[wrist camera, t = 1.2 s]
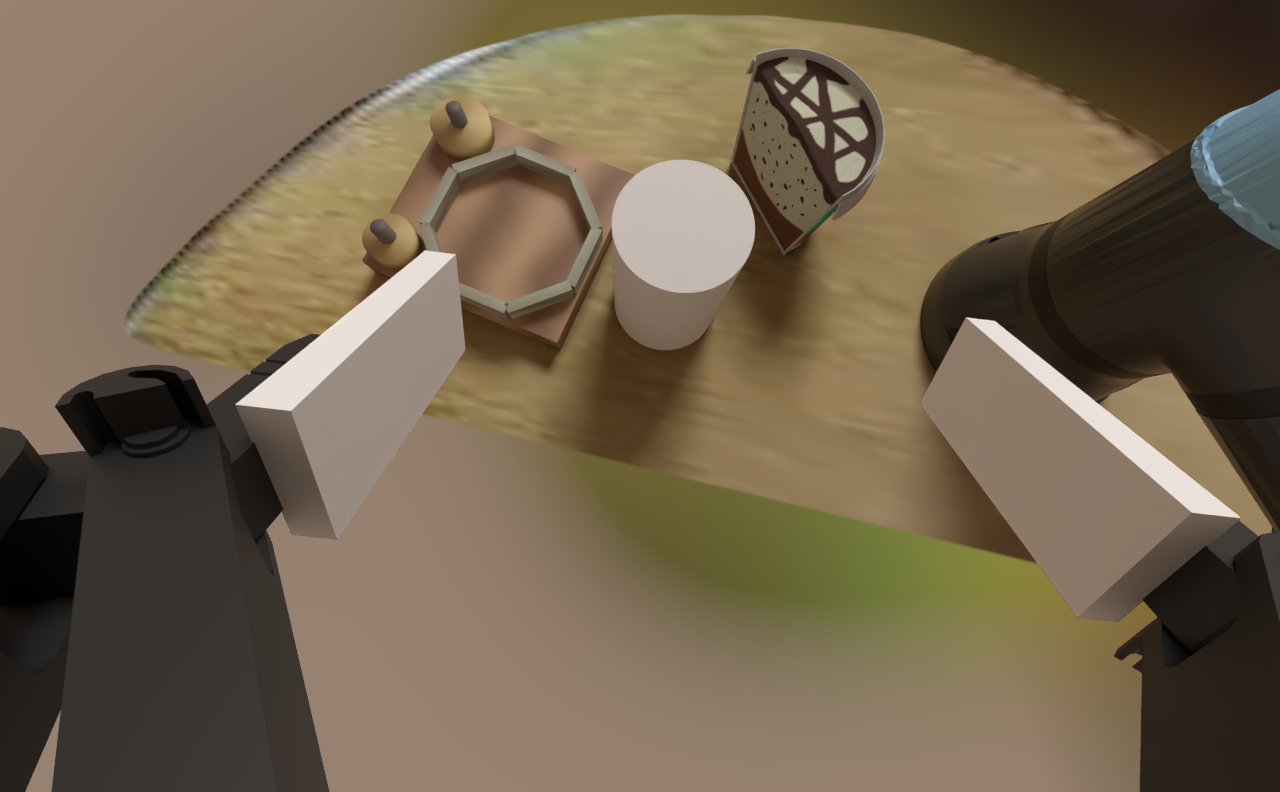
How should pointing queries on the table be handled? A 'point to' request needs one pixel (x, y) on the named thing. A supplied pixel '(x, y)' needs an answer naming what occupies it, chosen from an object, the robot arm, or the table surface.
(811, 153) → the food container
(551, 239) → the gear board
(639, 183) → the tall round pillar
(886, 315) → the table surface
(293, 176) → the table surface
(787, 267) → the table surface
